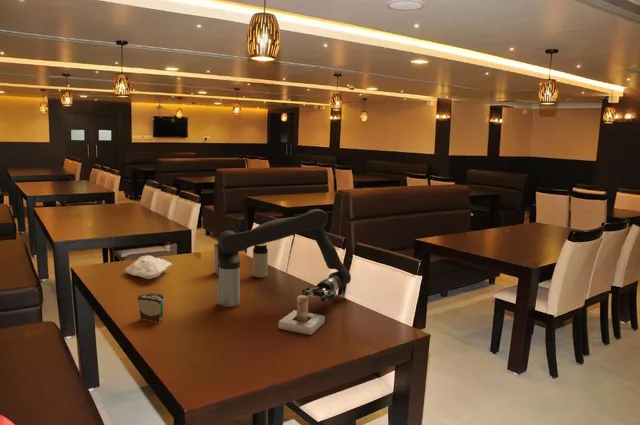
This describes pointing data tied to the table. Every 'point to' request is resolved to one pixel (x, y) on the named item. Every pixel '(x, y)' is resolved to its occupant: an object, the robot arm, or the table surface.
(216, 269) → the coffee box
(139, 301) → the food container
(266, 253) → the travel mug
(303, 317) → the peg
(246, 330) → the table surface
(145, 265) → the crumpled cloth
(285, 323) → the beige flat square frame
